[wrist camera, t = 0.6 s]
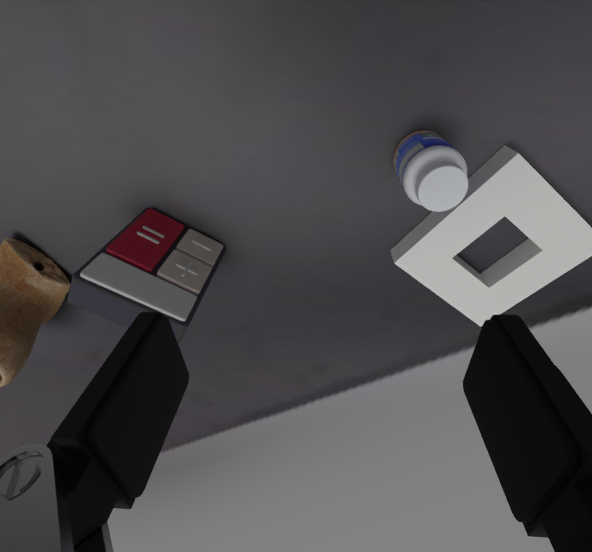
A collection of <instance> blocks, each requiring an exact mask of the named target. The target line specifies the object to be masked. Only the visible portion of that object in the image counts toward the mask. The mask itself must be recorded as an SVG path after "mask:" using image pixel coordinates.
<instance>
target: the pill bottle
mask: <svg viewBox="0 0 592 552" xmlns="http://www.w3.org/2000/svg"><path fill="white" fill-rule="evenodd" d="M393 164H394V168H395V171H396V173H397V175H398V177H399V179H400V181H401V183H402V185H403V188H404V190H405V192H406V194H407V195H408V197H409V198H410V199H411V200H412V201H413V202H415V203H416V204H419V205H422V206H423V207H425V208H426V209H428V210H430V211H434V212H441V211H446V210H449V209H451V208H453V207H455V206H456V205H457V204H459V203H460V202H461V201H462V199H463V198H464V197H465V195H466V193H467V190H468V178H467V166H466V162H465V160H464V158H463V157H462V155H461V154H460V153H459V152H458V151H457V150H456V149H455V148H453V147H452V146H451V145H450V144H449V143H448V142H447V141H445V140H444V139H443V138H442V137H441V136H440V135H438V134H436V133H434V132H432V131H426V130H423V131H417V132H414V133H412V134H410V135H408V136H407V137H406V138H404V139H403V140H402V141H401V142H400V143H399V145H398V146H397V148H396V150H395V153H394V158H393Z"/></svg>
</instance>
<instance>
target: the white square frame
mask: <svg viewBox="0 0 592 552" xmlns="http://www.w3.org/2000/svg"><path fill="white" fill-rule="evenodd" d="M504 216H505V217H507V218H508V219H509V220H510V221H511V222H512V223H513V224H514V225H515V226H516V227H517V228H519V229H520V230H521V231H522V232H523V233H524V234H525V235H526V236H527V237H528V239H527V240H526V241H524V242H523V243H522V244H520V245H519V246H517V247H516V248H515V249H513V250H512V251H511V252H509V253H508V254H506V255H505V256H504V257H502V258H501V259H500V260H498V261H497V262H496V263H494V264H493V265H491V266H490V267H489V268H487V269H486V270H485V271H483V272H482V273H481V274H479V273H478V272H477V271H476V270H474V269H473V268H472V267H471V266H469V265H468V264H467V263H466V262H464V261H463V260H462V259H461V258H460V257H458V256H457V254H458V253H459V252H460V251H462V250H463V249H464V248H465V247H467V246H468V245H469V244H470V243H472V242H473V241H474V240H475V239H477V238H478V237H479V236H480V235H482V234H483V233H484V232H485V231H487V230H488V229H489V228H490V227H492V226H493V225H494V224H495V223H497V222H498V221H499V220H500V219H502V218H503V217H504ZM390 251H391V254H392V258H393V261H394V263H395V264H396V265H397V266H399V267H400V268H401V269H403V270H404V271H406V272H407V273H408V274H410V275H411V276H412V277H414V278H415V279H416V280H418V281H419V282H421V283H422V284H423V285H425V286H426V287H427V288H429V289H430V290H431V291H433V292H434V293H435V294H437V295H438V296H440V297H441V298H442V299H444V300H445V301H446V302H448V303H449V304H450V305H452V306H453V307H455V308H456V309H457V310H459V311H460V312H461V313H463V314H464V315H465V316H467V317H468V318H470V319H471V320H472V321H474V322H475V323H476V324H478V325H479V326H480V327H481V326H482V325H483V324H484V322H485V321H486V320H490V318H491V317H492V316H493V315H500V314H501V313H503V312H504V311H506V310H508V309H509V308H511V307H512V306H514V305H515V304H517V303H519V302H520V301H522V300H523V299H525V298H526V297H528V296H529V295H531V294H533V293H534V292H536V291H537V290H539V289H540V288H542V287H544V286H545V285H547V284H548V283H550V282H551V281H553V280H555V279H556V278H558V277H559V276H561V275H562V274H564V273H566V272H567V271H569V270H570V269H572V268H573V267H575V266H577V265H578V264H580V263H581V262H583V261H584V260H586V259H588V258H589V257H591V256H592V228H591V227H590V226H589V225H588V223H587V222H586V221H585V220H584V219H583V218H582V217H581V216H580V215H579V214H578V213H577V212H576V211H575V210H574V209H573V208H572V207H571V206H570V205H569V204H568V203H567V202H566V201H565V200H564V199H563V198H562V197H561V196H560V195H559V194H558V193H557V192H556V191H555V190H554V189H553V188H552V187H551V186H550V185H549V184H548V183H547V182H546V181H545V180H544V179H543V178H542V177H541V176H540V174H539V173H538V172H537V171H536V170H535V169H534V168H533V167H532V166H531V165H530V164H529V163H528V162H527V161H526V160H525V159H524V158H523V157H522V156H521V155H520V154H519V153H517V152H516V151H514V150H512V149H511V148H509V147H507V146H506V145H504V146H503V147H502V148H501V149H500V150H499V151H498V152H497V153H496V154H495V155H493V156H492V157H491V158H490V159H489V160H488V161H487V162H486V163H485V164H484V165H483V166H482V167H480V168H479V169H478V170H477V171H476V172H475V173H474V174H473V175H472V176H471V177H470V178H468V190H467V193H466V195H465V197H464V198H463V199H462V201H461V202H460V203H459V204H457V205H456V206H455V207H453V208H451V209H449V210H446V211H441V212H434V211H433V212H431V213H430V214H429V215H428V216H427V217H426V218H425V219H424V220H423V221H422V222H421V223H419V224H418V225H417V226H416V227H415V228H414V229H413V230H412V231H411V232H410V233H409V234H407V235H406V236H405V237H404V238H403V239H402V240H401V241H400V242H399V243H398V244H397V245H396V246H394V247H393V248H392V249H391V250H390Z"/></svg>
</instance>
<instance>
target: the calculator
mask: <svg viewBox="0 0 592 552" xmlns="http://www.w3.org/2000/svg"><path fill="white" fill-rule="evenodd" d="M225 251H226V249H225V248H224V247H223V245H222V244H220V243H218V242H216V241H214V240H212V239H210V238H208V237H207V236H205V235H203V234H201V233H199V232H197V231H195V230H193V229H187V228H185V226H184V225H183V224H181V223H179V222H177V221H175V220H173V219H171V218H169V217H167V216H165V215H163V214H161V213H159V212H158V211H156V210H154V209H151V208H149V209H145V210H144V211H142V212H141V213H140V214H139V215H138V216H137V217H136V218H135V219H134V220H133V221H131V222H130V223H129V224H128V225H127V226H126V227H125V228H124V229H123V230H122V231H120V232H119V233H118V234H117V235H116V236H115V237H114V238H113V239H112V240H111V241H109V242H108V243H107V244H106V245H105V246H104V247H103V248H102V249H101V250H100V251H98V252H97V253H96V254H95V255H94V256H93V257H92V258H91V259H90V260H89V261H88V262H86V263H85V264H84V265H83V266H82V267H81V268H80V269H79V270H78V271H77V272H75V273H74V274H73V276H72V280H71V285H70V290H69V295H68V302H69V303H70V304H72V305H74V306H77V307H79V308H81V309H84V310H86V311H89V312H91V313H93V314H96V315H98V316H101V317H103V318H105V319H108V320H110V321H113V322H115V323H117V324H120V325H122V326H125V327H127V328H129V327H130V325H131V324H132V323H133V321H134V320H135V318H136V317H137V316H138V314H139V313H141V312H161V313H162V314H163V315H164V317H167V318H168V319H169V321H170V324H171V327H172V329H173V332H174V335H175V337H176V340H177V343H178V344H179V343H180V341H181V339H182V337H183V335H184V333H185V331H186V330H187V328H188V326H189V324H190V322H191V320H192V318H193V316H194V314H195V312H196V310H197V308H198V306H199V304H200V302H201V300H202V297H203V295H204V293H205V291H206V289H207V287H208V285H209V283H210V281H211V279H212V277H213V275H214V273H215V271H216V269H217V267H218V265H219V263H220V261H221V259H222V257H223V255H224V253H225Z"/></svg>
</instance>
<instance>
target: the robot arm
mask: <svg viewBox="0 0 592 552" xmlns="http://www.w3.org/2000/svg"><path fill="white" fill-rule="evenodd" d="M188 381H189V373H188V370H187V367H186V365H185V362H184V359H183V357H182V354H181V351H180V348H179V346H178V343H177V340H176V337H175V335H174V332H173V329H172V327H171V324H170V321H169V319H168V318H167V317H164V315H163V314H162V313H161V312H141V313H139V314H138V316H137V317H136V318H135V320H134V321H133V323H132V324H131V325H130V327H129V328H128V330H127V331H126V333H125V334H124V335H123V337H122V338H121V340H120V341H119V342H118V344H117V345H116V347H115V348H114V350H113V351H112V352H111V354H110V355H109V357H108V358H107V359H106V361H105V362H104V364H103V365H102V367H101V368H100V369H99V371H98V372H97V374H96V375H95V376H94V378H93V379H92V381H91V382H90V384H89V385H88V386H87V388H86V389H85V391H84V392H83V393H82V395H81V396H80V398H79V399H78V401H77V402H76V403H75V405H74V406H73V408H72V409H71V410H70V412H69V413H68V415H67V416H66V418H65V419H64V420H63V422H62V423H61V425H60V426H59V427H58V429H57V430H56V432H55V433H54V434H53V436H52V437H51V440H50V441H49V443H48V444H47V446H45V445H40V444H33V445H27V446H24V447H22V448H19V449H17V450H15V451H13V452H11V453H10V454H8V455H7V456H5V457H4V458H2V459H1V460H0V552H113V548H112V543H111V538H110V533H109V528H108V524H107V520H108V518H109V516H110V514H111V512H112V509H113V508H122V509H131V508H132V505H133V503H134V501H135V498H136V497H139V496H140V495H141V494H142V493H143V491H144V489H145V487H146V484H147V482H148V479H149V477H150V475H151V472H152V470H153V467H154V465H155V463H156V460H157V458H158V455H159V453H160V450H161V448H162V446H163V443H164V441H165V438H166V436H167V433H168V431H169V429H170V426H171V424H172V421H173V419H174V417H175V414H176V412H177V409H178V407H179V404H180V402H181V400H182V397H183V395H184V392H185V390H186V387H187V385H188ZM463 389H464V393H465V395H466V398H467V400H468V403H469V405H470V408H471V410H472V413H473V415H474V418H475V420H476V423H477V425H478V428H479V430H480V433H481V436H482V438H483V441H484V443H485V446H486V448H487V451H488V453H489V456H490V458H491V460H492V463H493V466H494V468H495V471H496V473H497V476H498V478H499V481H500V483H501V486H502V488H503V491H504V493H505V496H506V498H507V501H508V503H509V506H510V508H511V511H512V513H513V515H514V517H515V518H516V520H518V521H519V522H523V525H524V527H525V530H526V532H527V534H528V536H534V537H548V538H549V540H550V542H551V544H552V546H553V549H554V551H555V552H592V414H591V412H590V411H589V410H588V408H587V407H586V406H585V404H584V403H583V401H582V400H581V399H580V398H579V396H578V395H577V393H576V392H575V390H574V389H573V388H572V386H571V385H570V383H569V382H568V381H567V379H566V378H565V376H564V375H563V374H562V373H561V371H560V370H559V369H558V368H557V367H556V366H555V365H554V364H553V362H552V361H551V360H550V358H549V357H548V355H547V354H546V353H545V351H544V350H543V348H542V347H541V346H540V344H539V343H538V341H537V340H536V339H535V337H534V336H533V334H532V333H531V332H530V330H529V329H528V327H527V326H526V325H525V323H524V322H523V320H522V319H521V318H520V317H519V316H518V315H493V316H492V317H491V318H490V320H486V321H485V322H484V324H483V327H482V330H481V332H480V335H479V338H478V341H477V344H476V346H475V349H474V352H473V355H472V358H471V360H470V363H469V366H468V369H467V372H466V374H465V377H464V380H463Z"/></svg>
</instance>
